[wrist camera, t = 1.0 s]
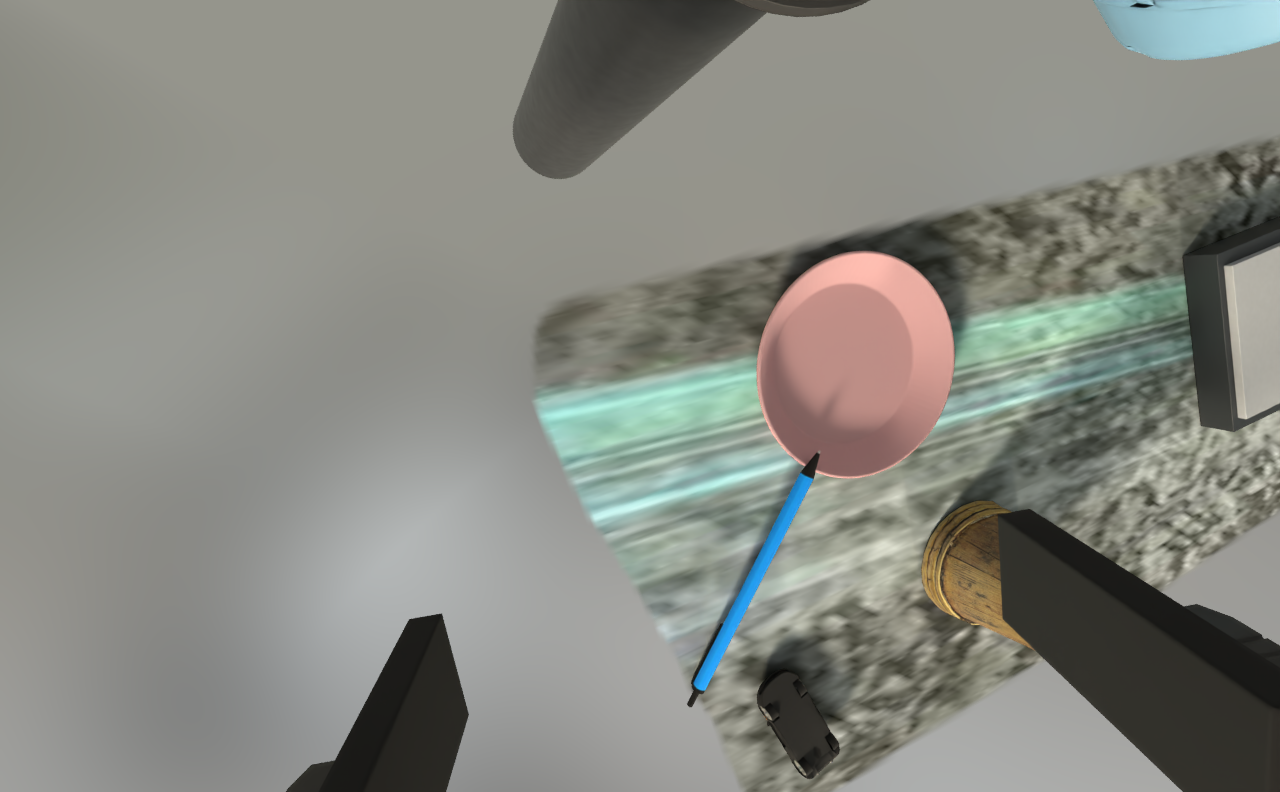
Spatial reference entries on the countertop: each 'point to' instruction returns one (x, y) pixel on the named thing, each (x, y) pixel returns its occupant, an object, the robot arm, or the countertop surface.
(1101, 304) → the countertop surface
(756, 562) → the pen
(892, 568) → the countertop surface
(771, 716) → the toy car
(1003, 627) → the wooden mug
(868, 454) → the plate
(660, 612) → the countertop surface
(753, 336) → the countertop surface
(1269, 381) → the kitchen scale
